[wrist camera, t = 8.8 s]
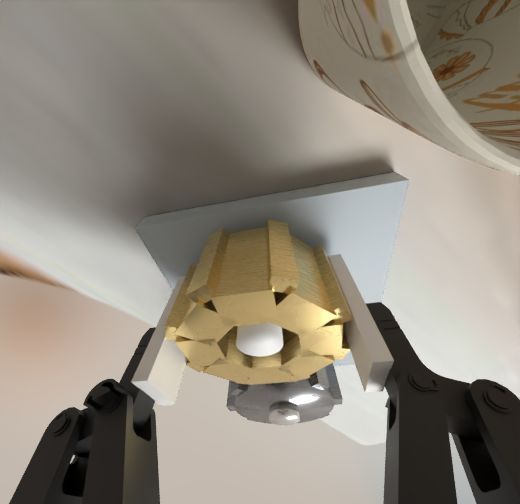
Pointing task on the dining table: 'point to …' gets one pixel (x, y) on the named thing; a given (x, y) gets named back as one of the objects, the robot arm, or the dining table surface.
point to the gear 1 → (260, 306)
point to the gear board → (300, 226)
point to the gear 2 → (287, 399)
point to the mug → (426, 68)
